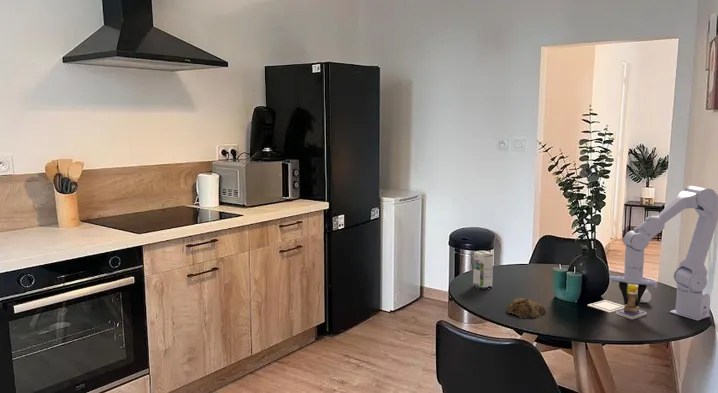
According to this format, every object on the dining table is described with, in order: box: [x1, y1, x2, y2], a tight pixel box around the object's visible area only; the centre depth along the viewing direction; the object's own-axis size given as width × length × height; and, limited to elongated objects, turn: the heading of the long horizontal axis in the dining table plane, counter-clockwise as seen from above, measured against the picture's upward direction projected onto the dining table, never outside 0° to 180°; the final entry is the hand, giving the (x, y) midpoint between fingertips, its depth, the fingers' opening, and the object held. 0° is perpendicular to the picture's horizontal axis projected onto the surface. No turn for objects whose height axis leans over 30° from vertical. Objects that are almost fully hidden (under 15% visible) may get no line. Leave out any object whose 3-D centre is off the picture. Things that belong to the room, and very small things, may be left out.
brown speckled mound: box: [506, 297, 547, 319], centre depth 191 cm, size 13×12×5 cm
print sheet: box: [587, 299, 625, 314], centre depth 196 cm, size 9×10×1 cm
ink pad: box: [615, 309, 647, 320], centre depth 188 cm, size 6×8×1 cm
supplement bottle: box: [627, 284, 652, 303], centre depth 202 cm, size 6×6×10 cm
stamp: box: [623, 292, 640, 314], centre depth 187 cm, size 4×4×6 cm
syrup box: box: [472, 250, 494, 287], centre depth 220 cm, size 6×6×14 cm
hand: (631, 304), depth 187 cm, fingers closed on stamp, 3 cm apart
